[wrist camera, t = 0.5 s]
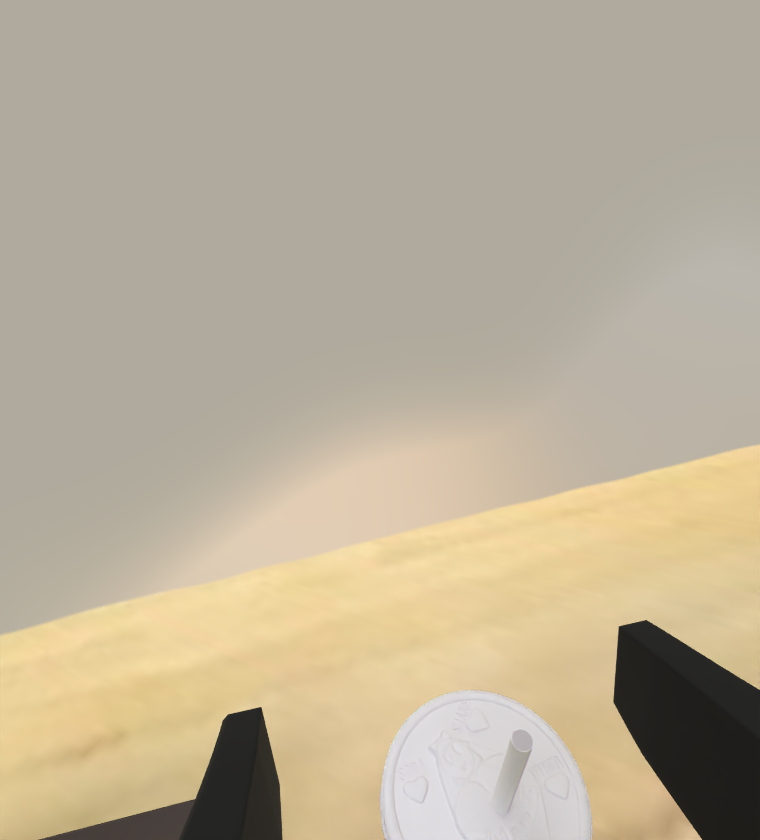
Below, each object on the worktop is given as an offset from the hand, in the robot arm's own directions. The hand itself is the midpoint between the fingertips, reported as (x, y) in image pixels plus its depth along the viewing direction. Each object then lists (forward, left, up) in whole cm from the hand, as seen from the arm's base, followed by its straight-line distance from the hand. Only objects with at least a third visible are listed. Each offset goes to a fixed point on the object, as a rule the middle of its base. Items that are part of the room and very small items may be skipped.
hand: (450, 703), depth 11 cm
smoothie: (+1, -2, -18) cm, 18 cm away
